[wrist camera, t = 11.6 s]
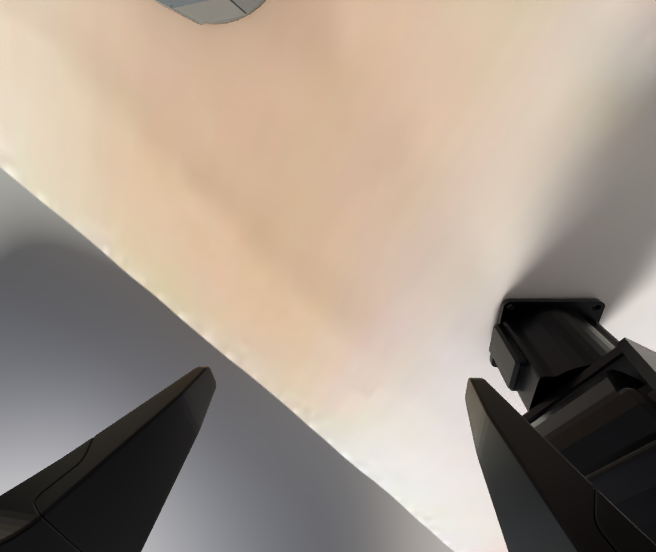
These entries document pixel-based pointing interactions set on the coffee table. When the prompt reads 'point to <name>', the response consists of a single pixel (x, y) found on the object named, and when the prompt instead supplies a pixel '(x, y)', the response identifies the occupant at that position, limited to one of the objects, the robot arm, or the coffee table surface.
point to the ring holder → (212, 9)
